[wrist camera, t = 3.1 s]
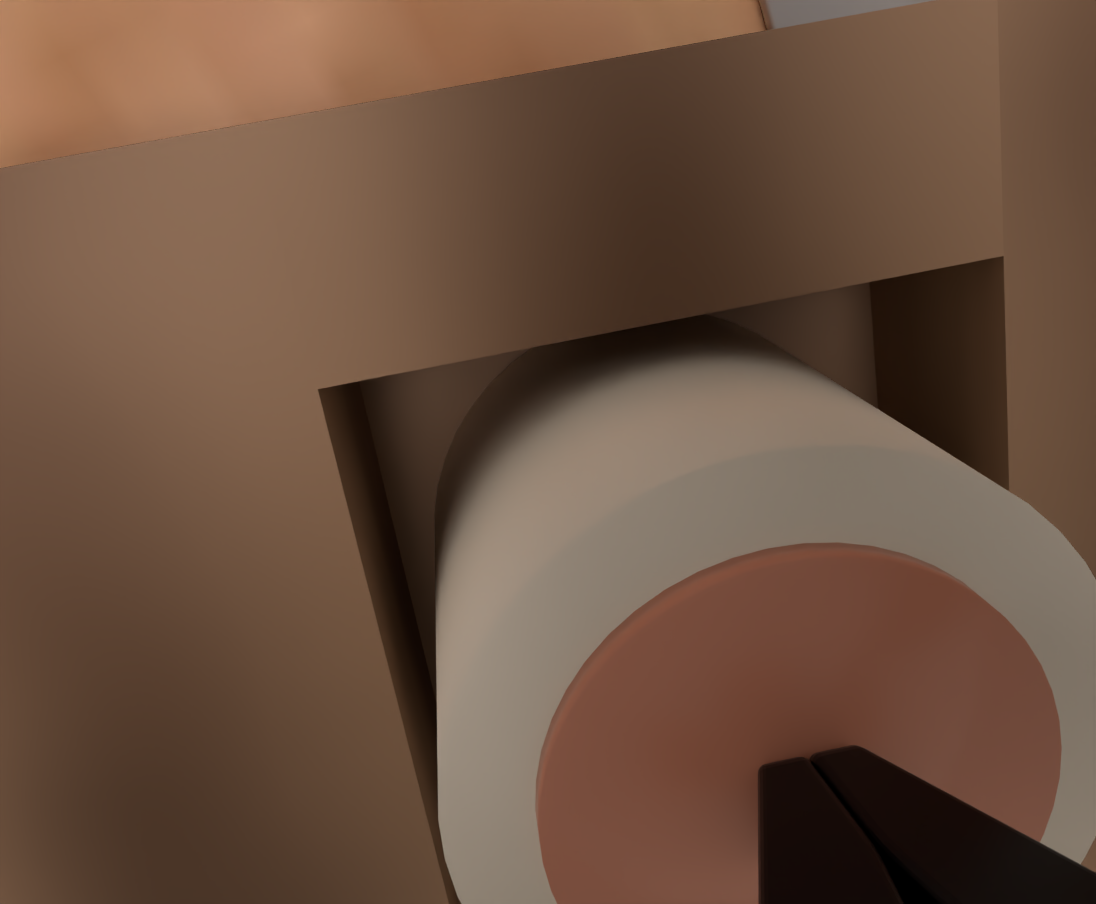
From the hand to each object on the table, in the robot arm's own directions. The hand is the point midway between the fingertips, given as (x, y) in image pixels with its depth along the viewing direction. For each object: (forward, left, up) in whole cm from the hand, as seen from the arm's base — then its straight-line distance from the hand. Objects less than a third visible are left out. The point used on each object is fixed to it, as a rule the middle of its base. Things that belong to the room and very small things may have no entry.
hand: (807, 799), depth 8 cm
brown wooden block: (0, 0, -7) cm, 7 cm away
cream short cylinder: (0, 0, -6) cm, 6 cm away
